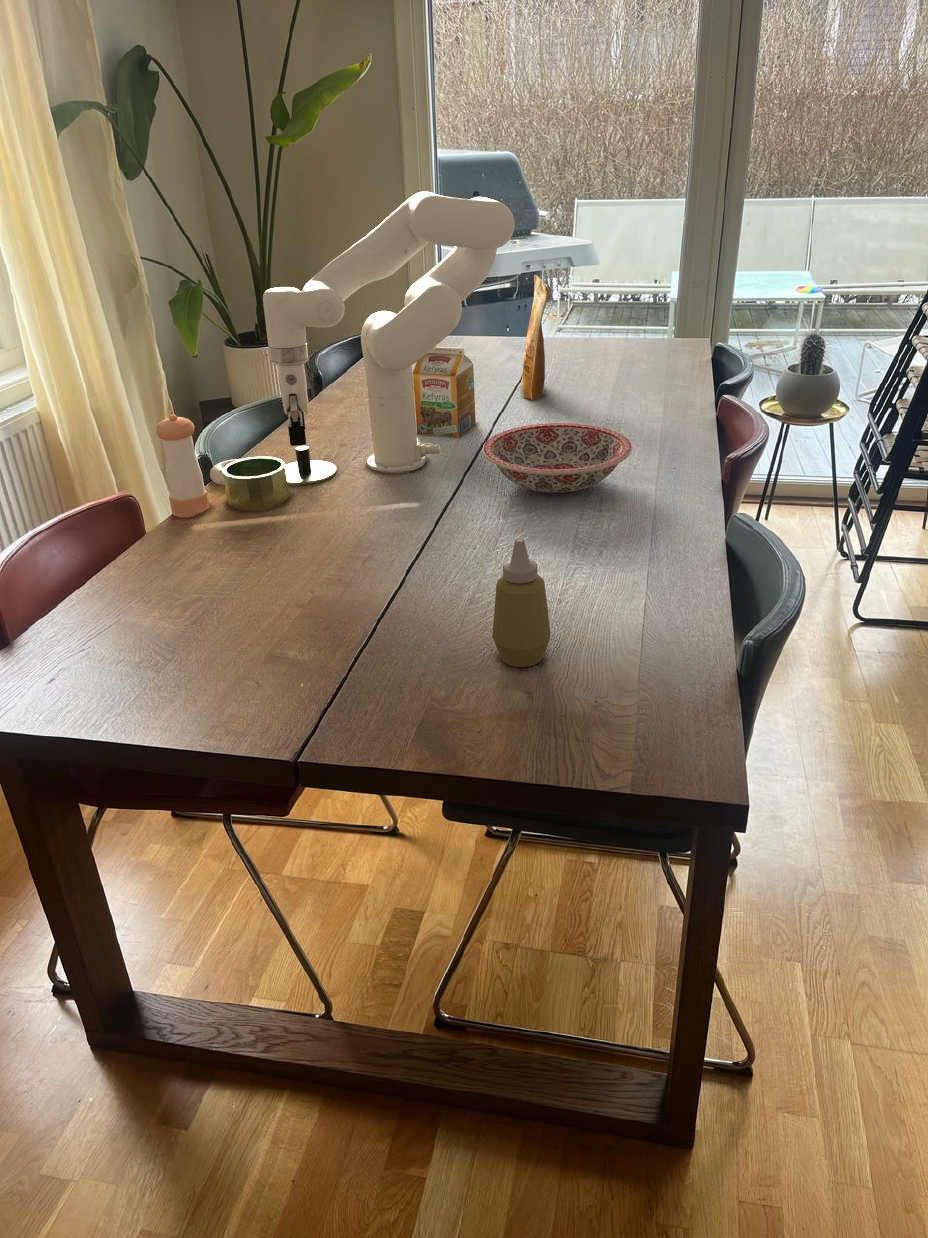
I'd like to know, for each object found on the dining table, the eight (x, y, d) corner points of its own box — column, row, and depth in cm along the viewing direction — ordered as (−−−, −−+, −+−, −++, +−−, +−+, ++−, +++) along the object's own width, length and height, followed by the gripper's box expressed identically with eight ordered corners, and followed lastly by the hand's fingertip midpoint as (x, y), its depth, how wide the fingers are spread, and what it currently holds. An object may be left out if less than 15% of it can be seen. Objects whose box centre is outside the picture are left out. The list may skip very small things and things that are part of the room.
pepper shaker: (190, 520, 182) (171, 422, 173) (164, 513, 186) (143, 418, 177) (218, 507, 188) (200, 412, 178) (191, 501, 191) (173, 407, 182)
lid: (335, 463, 207) (332, 435, 204) (338, 484, 196) (334, 455, 193) (274, 468, 206) (270, 441, 203) (274, 490, 194) (270, 461, 191)
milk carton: (417, 433, 222) (411, 351, 213) (435, 420, 231) (430, 340, 222) (458, 437, 219) (454, 353, 209) (475, 423, 227) (472, 342, 218)
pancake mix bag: (547, 381, 257) (546, 272, 243) (549, 401, 240) (549, 285, 227) (522, 381, 257) (520, 273, 244) (522, 402, 241) (521, 286, 227)
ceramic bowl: (647, 467, 196) (649, 430, 192) (604, 521, 173) (605, 479, 169) (516, 453, 207) (515, 417, 203) (459, 501, 185) (457, 462, 181)
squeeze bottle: (490, 645, 137) (485, 529, 128) (545, 640, 137) (545, 525, 128) (496, 675, 129) (492, 555, 121) (555, 670, 130) (555, 550, 121)
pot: (289, 486, 196) (284, 454, 193) (289, 508, 186) (284, 474, 182) (229, 492, 195) (224, 460, 191) (226, 514, 184) (220, 480, 181)
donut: (203, 488, 198) (248, 489, 195) (200, 472, 196) (245, 473, 194) (223, 471, 206) (266, 472, 204) (220, 456, 204) (263, 456, 202)
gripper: (308, 362, 181) (317, 449, 190) (307, 342, 196) (315, 423, 205) (268, 365, 180) (279, 452, 189) (270, 345, 195) (279, 426, 204)
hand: (298, 437), depth 197 cm, fingers open, 9 cm apart
